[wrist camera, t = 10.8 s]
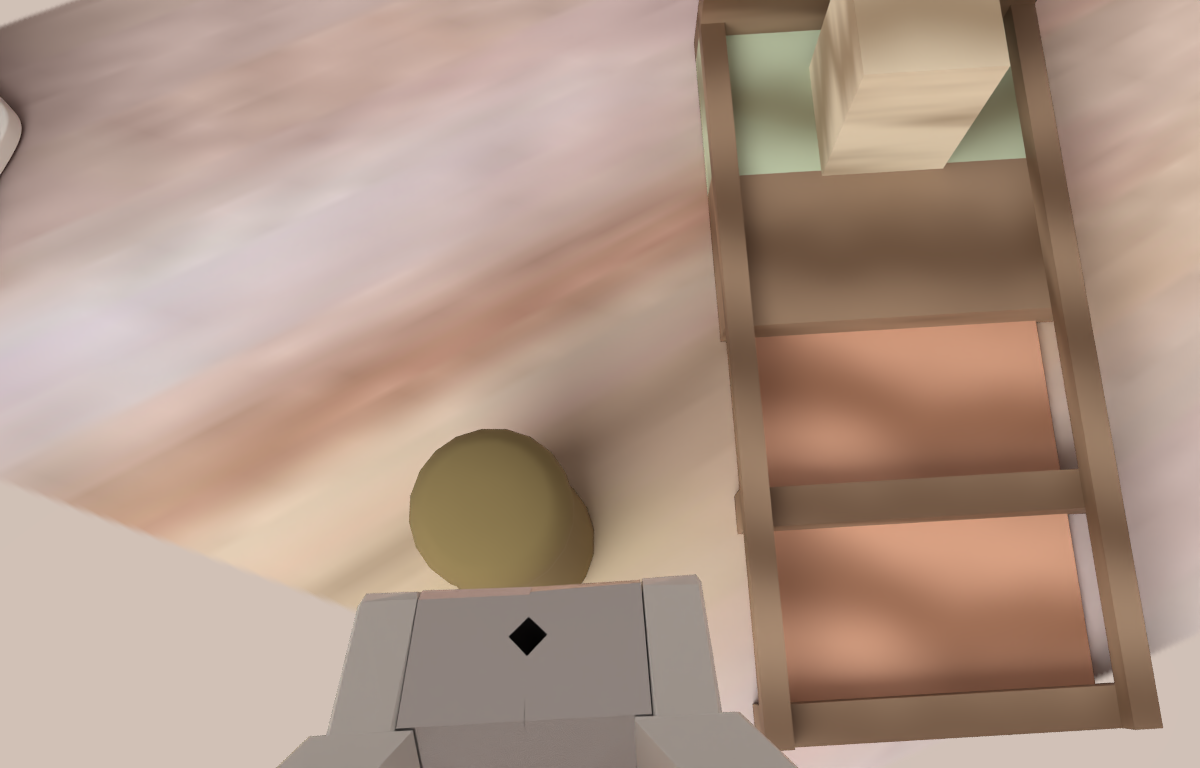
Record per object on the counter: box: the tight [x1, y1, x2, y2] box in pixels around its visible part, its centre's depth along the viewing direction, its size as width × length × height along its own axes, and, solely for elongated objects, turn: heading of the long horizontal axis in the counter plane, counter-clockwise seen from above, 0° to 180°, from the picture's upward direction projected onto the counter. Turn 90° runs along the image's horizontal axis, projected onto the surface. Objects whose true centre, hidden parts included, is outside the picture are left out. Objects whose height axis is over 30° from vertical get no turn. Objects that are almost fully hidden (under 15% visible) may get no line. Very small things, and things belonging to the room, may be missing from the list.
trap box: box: [694, 0, 1163, 751], centre depth 42 cm, size 30×14×6 cm, turn 3°
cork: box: [409, 429, 594, 589], centre depth 38 cm, size 6×6×11 cm
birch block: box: [809, 0, 1010, 176], centre depth 42 cm, size 5×5×8 cm
